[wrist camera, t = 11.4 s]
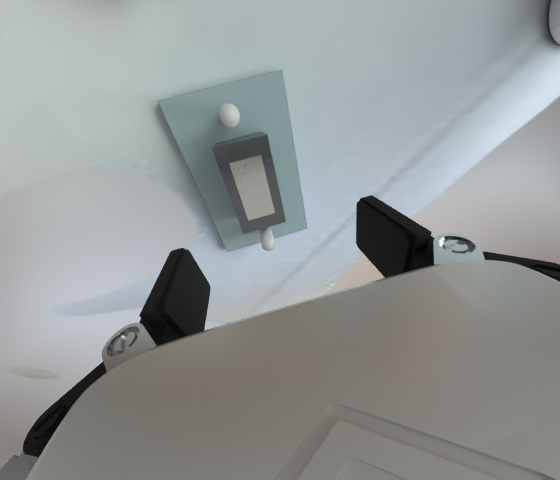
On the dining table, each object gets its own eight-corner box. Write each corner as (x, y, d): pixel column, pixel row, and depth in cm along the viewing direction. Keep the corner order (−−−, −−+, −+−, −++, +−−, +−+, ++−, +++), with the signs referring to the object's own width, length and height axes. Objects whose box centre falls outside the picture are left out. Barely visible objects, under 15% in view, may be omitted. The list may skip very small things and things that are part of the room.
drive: (261, 131, 21) (267, 134, 17) (278, 206, 26) (286, 222, 22) (215, 142, 21) (211, 148, 17) (241, 217, 26) (243, 234, 22)
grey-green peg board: (280, 71, 20) (296, 56, 15) (305, 225, 30) (320, 247, 25) (160, 101, 19) (135, 96, 14) (227, 248, 29) (226, 275, 24)
